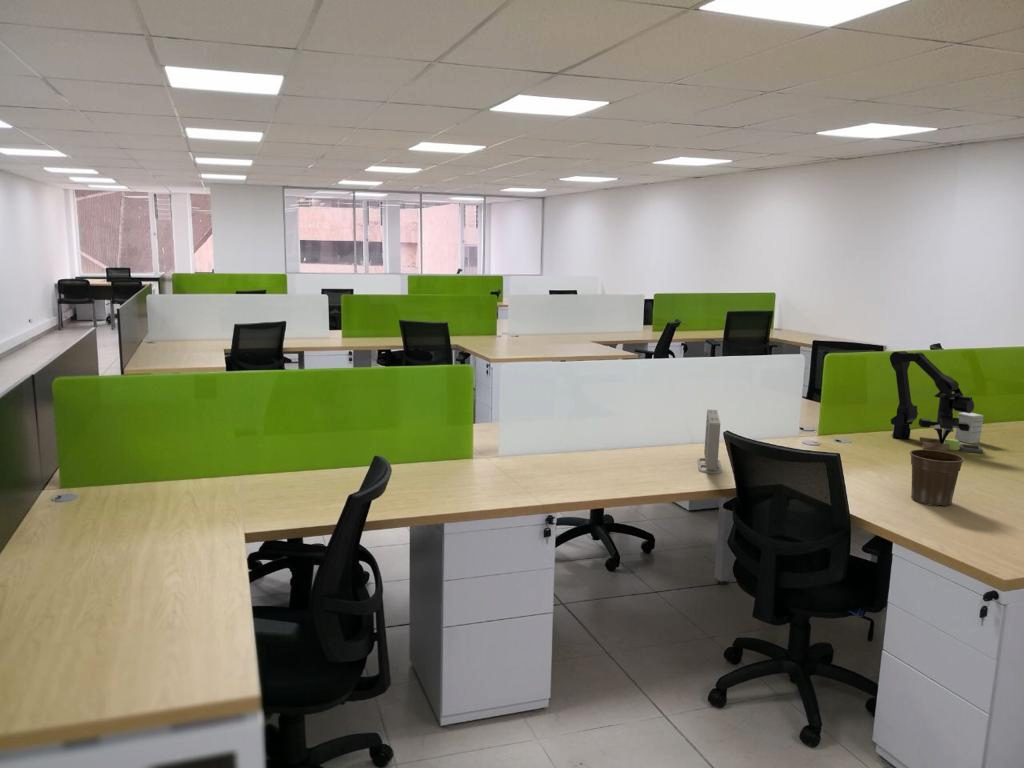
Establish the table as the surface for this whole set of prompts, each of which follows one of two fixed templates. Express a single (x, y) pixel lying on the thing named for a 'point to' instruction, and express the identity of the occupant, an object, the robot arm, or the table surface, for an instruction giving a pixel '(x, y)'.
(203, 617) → the table surface
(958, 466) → the plant pot
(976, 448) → the trap pit
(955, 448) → the lime block
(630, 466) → the table surface
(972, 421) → the supplement box
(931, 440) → the lane rails
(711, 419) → the network device
